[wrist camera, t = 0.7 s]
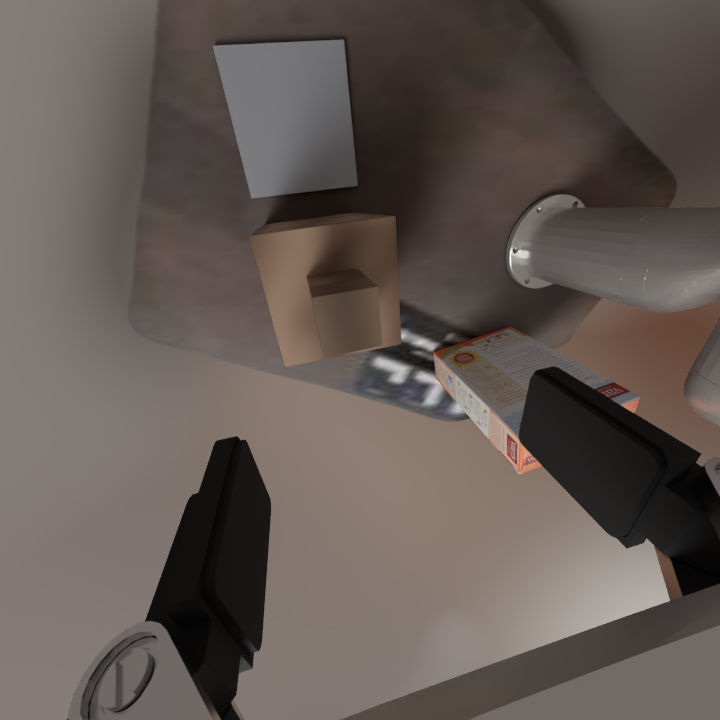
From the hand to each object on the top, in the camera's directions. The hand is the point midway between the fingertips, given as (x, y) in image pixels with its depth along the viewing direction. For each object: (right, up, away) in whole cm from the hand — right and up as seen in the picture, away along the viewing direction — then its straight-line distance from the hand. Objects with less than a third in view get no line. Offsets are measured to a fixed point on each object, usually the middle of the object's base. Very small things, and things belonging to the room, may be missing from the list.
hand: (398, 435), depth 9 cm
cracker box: (+18, +4, +40) cm, 44 cm away
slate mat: (-8, +27, +21) cm, 35 cm away
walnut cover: (-7, +15, +28) cm, 32 cm away
